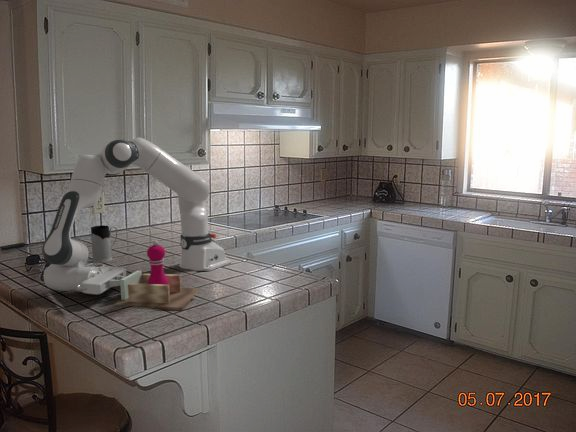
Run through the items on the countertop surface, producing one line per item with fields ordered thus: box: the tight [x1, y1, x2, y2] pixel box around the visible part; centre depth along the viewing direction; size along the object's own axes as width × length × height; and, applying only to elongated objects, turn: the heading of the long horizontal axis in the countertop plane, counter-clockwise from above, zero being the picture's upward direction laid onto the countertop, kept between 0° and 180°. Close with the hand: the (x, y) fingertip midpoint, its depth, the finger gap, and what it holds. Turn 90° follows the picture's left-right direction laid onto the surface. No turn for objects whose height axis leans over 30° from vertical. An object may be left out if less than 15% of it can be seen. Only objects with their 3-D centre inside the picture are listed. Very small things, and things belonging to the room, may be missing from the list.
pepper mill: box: [146, 240, 169, 285], centre depth 180 cm, size 7×7×20 cm
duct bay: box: [112, 273, 202, 311], centre depth 183 cm, size 24×20×7 cm
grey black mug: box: [90, 224, 119, 264], centre depth 237 cm, size 9×14×15 cm, turn 152°
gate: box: [119, 269, 143, 300], centre depth 184 cm, size 2×12×7 cm, turn 166°
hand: (126, 281), depth 183 cm, fingers closed
